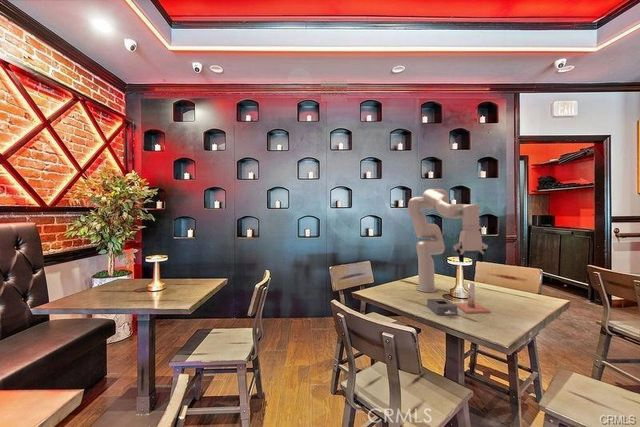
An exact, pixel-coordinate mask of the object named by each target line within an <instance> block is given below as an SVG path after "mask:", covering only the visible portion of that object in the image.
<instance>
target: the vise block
mask: <svg viewBox="0 0 640 427" xmlns="http://www.w3.org/2000/svg"><path fill="white" fill-rule="evenodd" d="M426 307H427V308H428V309H429V310H431V311H432V312H433V313H434V314H435V315H436V316H447V315H448V316H450V315H451V316H452V315H456V316H457V315H458V307H457V306H456V305H455V304H454V303H453V302H451V301H450V300H449V299H447V298H427V299H426Z"/></svg>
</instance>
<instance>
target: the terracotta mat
mask: <svg viewBox="0 0 640 427" xmlns="http://www.w3.org/2000/svg"><path fill="white" fill-rule="evenodd" d="M453 304H455V305H456V306H457V309H459V310H461V311H462V312H464V313H465V314H489V313H491V310H490V309H488V308H486V307H485V306H483V305H482V304H480V303H478V302H475V308H470V307H468V302H458V303H457V302H454V303H453Z"/></svg>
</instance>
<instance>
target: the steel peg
mask: <svg viewBox="0 0 640 427" xmlns="http://www.w3.org/2000/svg"><path fill="white" fill-rule="evenodd" d="M475 286H476V285H475V283H473V282H468V283H467V303H468V307H470V308H475V303H476V299H475V298H476V290H475V288H476V287H475Z"/></svg>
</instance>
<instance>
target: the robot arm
mask: <svg viewBox="0 0 640 427" xmlns="http://www.w3.org/2000/svg"><path fill="white" fill-rule="evenodd" d="M448 195H449V194H448V191H446V190H445V189H442V188H428V189H426V190H424V191H423V194H422V196H414V197H412V198H410V199H409V200H408V203H407V209H408V212H409V215H410V217H411V220H412V224H413V228H414V233H415V235H416V237H417V238H418V239H423V240H420V241H417V243H416V247H415V248H416V254H417V262H418V268H417V269H418V271H417V272H418V273H417V274H418V285H417V286H416V287H415V290H417V291H419V292H423V293H435V292H437V291H438V288H437V287H436V286H435V261H434V259H433V257H432V256H434V255H435V256H437V255H441V254H443V253H444V252H445V249H446V248H445V242H444V239H443V238H444V237H443V235H442V230H441V228H440V227H439V226H438V224H436V223H428V220H427V217H426V215H425V214H424V213H423V210H433V209H436V211H437V213H438V214H440V215H441V216H442V217H444V218H447V219H462V220H461V221H462V230H461V231H460V233H459V238H458V239H459V240H458V243H456V244H454V245H453V249H454V251H455V252H456V253H457V254H458V261H459V262H460V263H464V262H465V256H464V253H465V252H470V251H471V252H472V251H473V252H475V251H476V252H477V261H478V262H480V263H483V260H484V254H485V253H486V252H487V249H488V248H489V244H486V243H485V242H483V238H482V234H481V233H482V232H481V230H480V229H482V226H481V225H480V207H479V204H476V203H475V204H474V203H473V204H466V203H457V204H455V203H452V204H451V203H450V198H449V196H448ZM421 210H422V211H421Z"/></svg>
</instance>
